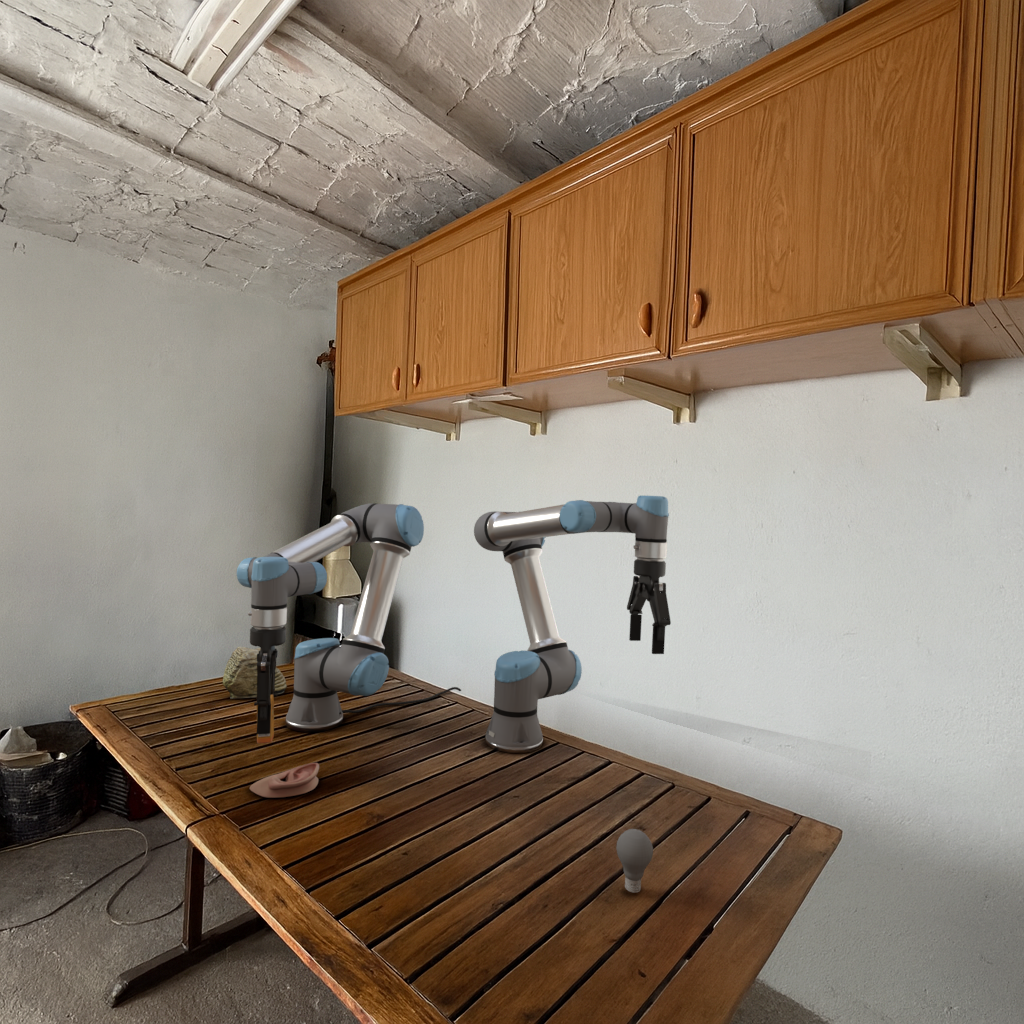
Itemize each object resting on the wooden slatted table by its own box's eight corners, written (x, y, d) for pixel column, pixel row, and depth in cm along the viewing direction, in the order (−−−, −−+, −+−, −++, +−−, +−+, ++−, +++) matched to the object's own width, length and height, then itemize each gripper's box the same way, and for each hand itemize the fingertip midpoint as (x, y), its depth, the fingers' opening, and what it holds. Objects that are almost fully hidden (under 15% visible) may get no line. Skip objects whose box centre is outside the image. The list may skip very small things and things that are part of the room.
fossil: (218, 695, 195) (220, 647, 195) (278, 685, 208) (279, 640, 207) (228, 703, 189) (230, 653, 188) (289, 692, 201) (290, 645, 201)
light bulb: (610, 879, 108) (613, 822, 108) (644, 879, 109) (647, 822, 109) (619, 902, 102) (622, 840, 102) (655, 901, 103) (658, 840, 103)
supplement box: (257, 738, 144) (259, 694, 143) (273, 737, 144) (275, 693, 144) (255, 743, 140) (256, 698, 140) (271, 743, 141) (273, 698, 141)
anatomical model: (241, 775, 133) (272, 754, 144) (240, 794, 133) (272, 771, 144) (299, 783, 130) (326, 761, 142) (298, 802, 130) (325, 779, 142)
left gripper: (256, 619, 149) (252, 718, 149) (243, 634, 133) (240, 744, 133) (289, 619, 151) (286, 716, 151) (281, 634, 135) (277, 743, 135)
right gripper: (616, 554, 164) (612, 635, 165) (657, 564, 140) (652, 660, 140) (643, 554, 166) (639, 635, 166) (688, 565, 142) (684, 659, 142)
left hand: (264, 729), depth 142 cm, fingers closed on supplement box, 3 cm apart
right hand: (645, 646), depth 153 cm, fingers open, 13 cm apart
